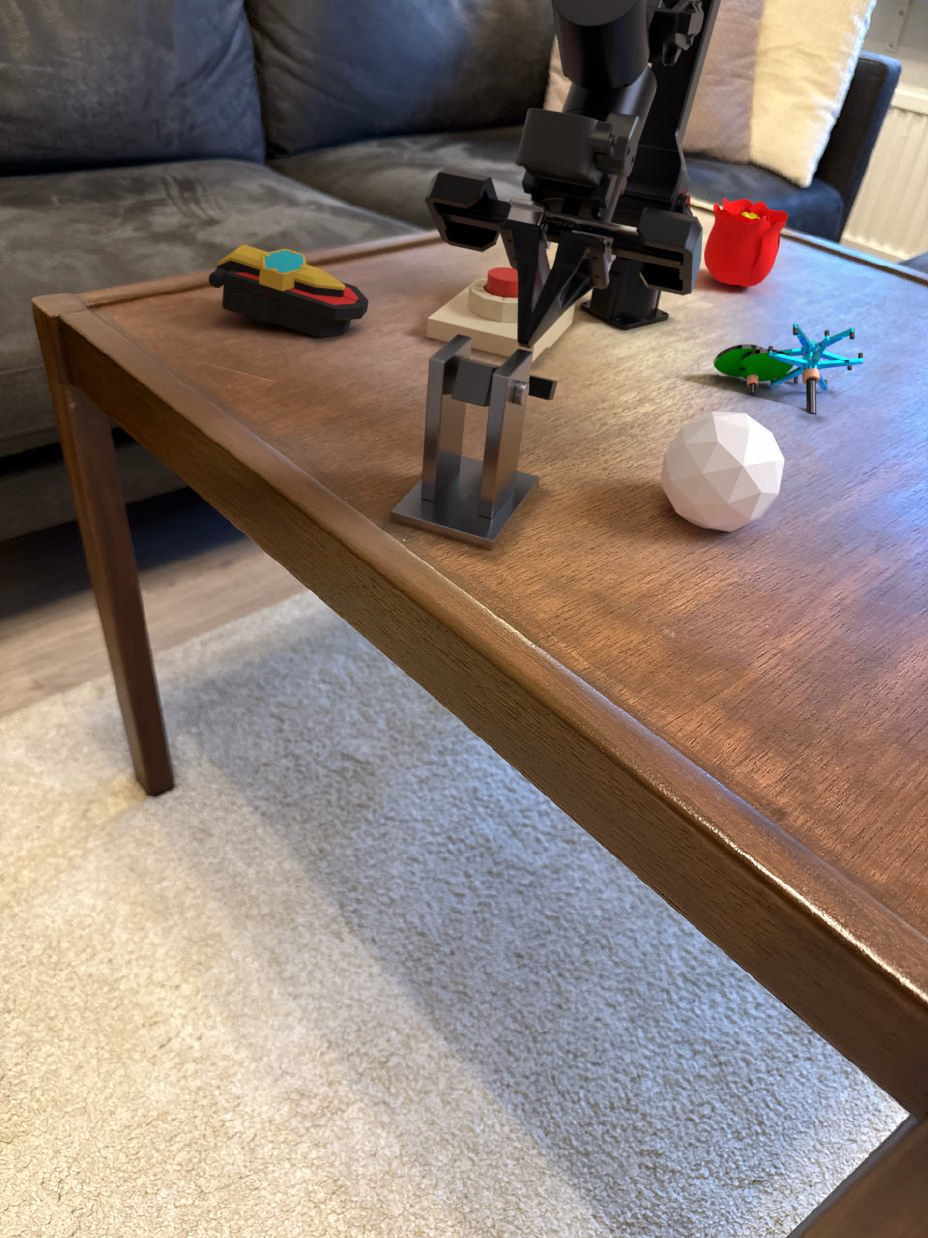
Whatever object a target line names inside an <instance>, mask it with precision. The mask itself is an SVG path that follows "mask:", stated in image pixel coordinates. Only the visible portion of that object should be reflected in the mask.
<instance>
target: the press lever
mask: <svg viewBox="0 0 928 1238" xmlns="http://www.w3.org/2000/svg"><path fill="white" fill-rule="evenodd" d="M500 366H501V365H499V364H495V363H491V362H487V361H483V360H479V359H475V358H474V359H473V358H470V359H459V364H458V368H457V373H456V378H455V383H454V387H453V392H452V397H451V398H452V399H455V400H459V401H462V402H466V404H471V405H474V406H478V407H481V408H489V403H490V394H491V384H492V375H493V373H494V372H495V371H496V370H497V369H498V368H499V367H500ZM557 385H558V381H557V380H556V379H551V378H546V377H544V376H543V377H542V376H539V375H536V374H531V373H530V377H529V393H528V396H529V397H533V398H538V399H541V400H545V401H554V397H555V394H556V391H557V390H556V389H557Z"/></svg>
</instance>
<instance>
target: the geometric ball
mask: <svg viewBox="0 0 928 1238" xmlns="http://www.w3.org/2000/svg"><path fill="white" fill-rule="evenodd" d="M785 461H786V459H785V458H784V455H783V453H782V451H781V449H780V446H779V445H778V443H777V440H776V438H775V437H774V434H773V432H772V431H770V430H769V429H767V428H766V426H763V425H762V424H761V423H759V422H758V421H756V420H755V419H754V418H753V417H751V416H750V415H749V414H747V413H746V412H734V411H716V410H715V411H714V410H711V411H710V412H707V413H705V414H703V415H701V416H699V417H697V418H695V419H693V420H691V421H689V422H687V423H685V424H683V425H681V427H680V428H679V430H678V432H677V433H676V435H675V436H674V437H673V439H672V441H671V442H670V444H669V446H668V447H667V449H666V451H665V452H664V454H663V460H662V467H661V475H660V480H659V481H660V482H659V484H660V486H661V488H662V489H663V491H664V493H665V495H666V497H667V498H668V500H669V502H670V504H671V506H672V507H673V509H674V511H675V513H676V514H678V515H679V516H680V517H682V518H683V519H685V520H686V521H688V522H689V523H690V524H693V525H695V526H698V527H700V528H702V529H708V530H715V531H722V532H727V533H731V532H734V531H736V530H738V529H740V528H742V527H744V526H746V525H749V524H750V523H752V522H755V521H756V520H758V519H761V518H762V516H763V515H764V513H765V512H766V511H767V510H768V509H769V507H770V506H771V505H772V504H773V502H774V501H775V500H776V498H777V497H778V496H779V494H780V489H781V483H782V477H783V472H784V466H785Z"/></svg>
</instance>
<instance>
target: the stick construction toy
mask: <svg viewBox="0 0 928 1238" xmlns="http://www.w3.org/2000/svg"><path fill="white" fill-rule="evenodd" d="M823 333H824V334H823V335H824V337H823V339H822V340H821V341H818V342H816V341H815V340H812V339H811V340H810V339H809V338H808V336H807V335H806V334H805V332H804V331H803V330H802V328H801V327H800V325H799V324H798V323H793V324H792V336H796V337H797V339H798V342H799V343H800V345H801V347H795V348H787V349H781V350H779V349H774V346H773V345H769V346H768V347H767V348H764V347H762V346H760V345H757V344H752V343H750V344H749V343H744V344H743V343H742V344H736V345H733V346H730V347H728V348H725V349H724V350H722V351H720V352H718V354H717V355H716V356H715V357H714V359H713V366H714V368H715V369H716V370H717V371H718V372H720V373H721V374H723V375H726V376H728V377H733V378H742V379H744V380H745V381H746V387H747V388H748V395H749V396H750V397H755V396H757V392H758V391H757V389H758V387H759V384H760V382H761V383H763V382H768V381H769V386H770V387H771V388H773V387H775V386H778V385H780V384H783V383H785V382H787V381H790V380H792V379H793V384H794V385H797V384H799V377H800V376H801V382H802V384H803V385H805V401H806V402H805V411H806V413H807V414H810V415H815V416H817V385H818V386H819V387H820V388H821V390H822V391H824V392H826V391H828V387H829V386H828V379H824V377H823V375H822V373H821V371H820V370H824V369H832V368H833V369H834V368H841V367H846V370H847V371H849V372H851V371H852V370H853V366H858V365H859V366H860V365H863V364H864V353H863V352H858V353H857V358H848V357H845V356H842V355H840V354H836V353H834V352H830V351H827V350H826V349H827V348H828V347H830V346H832V345H834V344H836V343H838V342H840V341H842V340H844V339H845V338H847V337H849V338H848V339H849V340H851V341H853V340H855V338H856V337H855V333H856V332H855V328H854V327H849V328H848V329H845V330H843V331H841V332H838V333H836V334H835V335H832V336H830V333H831V332H830V330H829V329H826V330H824V332H823ZM799 357H800V358H799ZM821 359H823V360H821ZM794 366H796V368H794V369H793V367H794ZM792 369H793V370H792Z"/></svg>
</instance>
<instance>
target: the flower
mask: <svg viewBox="0 0 928 1238" xmlns="http://www.w3.org/2000/svg"><path fill="white" fill-rule="evenodd" d="M712 209H713V214H714V215H713V216H714V223H713V225H712V228H711V229H710V232H709V234H708V236H707V240H706V243H705V247H704V252H703V260H704V261H703V262H704V265H705V267H706V269H707V271H708V272H709V274H710V275H711V276H712V277H713V278H714V279H715V280H716V281H717V282H719V283H721V284H726V285H731V286H740V287H745V288H746V287H747V288H749V287H755V286H757V285H759V284H761V283H762V282H763V281H764V280H765V279H766V278H767V277H768V276H769V274H770V273H771V272H772V270H773V268H774V265H775V262H776V259H777V256H778V254H779V249H780V246H781V245H780V244H781V233H782V231H783V229H784V228H785V226H786V225H787V220H788V218H789V213H788V212H786V211H785V210H780V209H779V210H776V209H775V210H774V209H770V208H769V207H768V206H767V205H766V203H765V202H763V201H756V202H755V203H753V202H752V201H751V200H750V199H747V198H742V199H736V200H733V201H728V200H727V199H726V198H725V197H723V199H722V208H721V207H720V204H719V203H717V202H716V203H714V204H713V206H712Z"/></svg>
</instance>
